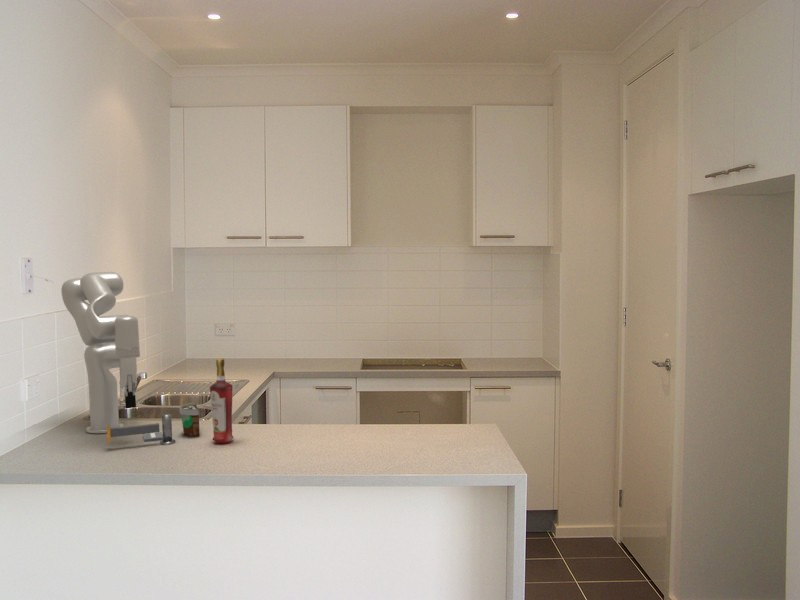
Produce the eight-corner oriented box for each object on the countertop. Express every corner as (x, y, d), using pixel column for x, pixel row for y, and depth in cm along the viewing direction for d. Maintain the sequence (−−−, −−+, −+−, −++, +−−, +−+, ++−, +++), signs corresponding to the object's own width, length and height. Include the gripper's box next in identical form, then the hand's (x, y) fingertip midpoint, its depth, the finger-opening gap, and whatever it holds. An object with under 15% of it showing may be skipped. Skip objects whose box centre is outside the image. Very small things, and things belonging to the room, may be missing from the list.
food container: (179, 431, 249) (178, 403, 248) (197, 429, 251) (196, 402, 250) (181, 439, 237) (180, 410, 237) (200, 437, 239) (198, 409, 239)
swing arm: (158, 432, 234) (158, 419, 234) (159, 435, 230) (159, 422, 230) (107, 438, 228) (106, 425, 228) (107, 441, 224) (106, 428, 224)
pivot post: (159, 441, 235) (158, 414, 234) (174, 440, 237) (173, 412, 236) (160, 445, 230) (159, 417, 230) (176, 443, 232) (175, 415, 232)
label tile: (143, 436, 243) (142, 433, 243) (161, 434, 245) (161, 431, 245) (144, 441, 235) (144, 438, 235) (163, 439, 238) (163, 436, 238)
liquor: (207, 443, 232) (203, 360, 230) (222, 438, 238) (219, 357, 236) (224, 446, 228) (220, 361, 226) (239, 440, 235) (236, 358, 233)
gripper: (115, 352, 239) (118, 405, 240) (116, 356, 225) (119, 412, 226) (138, 350, 242) (141, 402, 243) (141, 354, 228) (144, 409, 229)
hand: (130, 407), depth 234 cm, fingers closed
